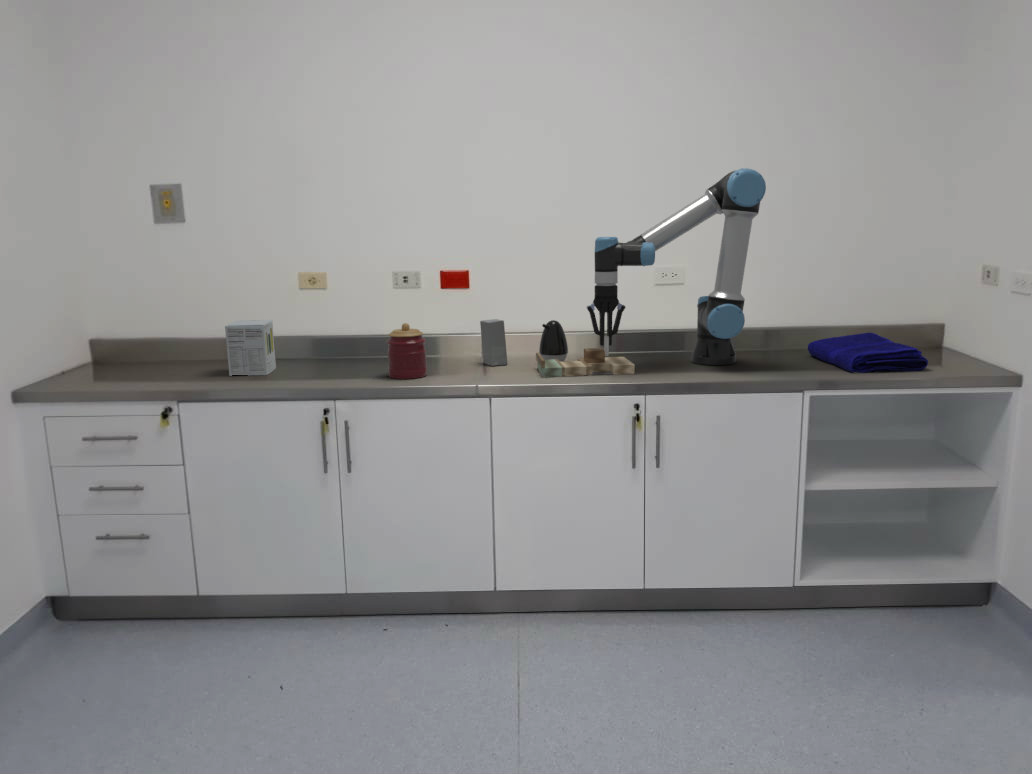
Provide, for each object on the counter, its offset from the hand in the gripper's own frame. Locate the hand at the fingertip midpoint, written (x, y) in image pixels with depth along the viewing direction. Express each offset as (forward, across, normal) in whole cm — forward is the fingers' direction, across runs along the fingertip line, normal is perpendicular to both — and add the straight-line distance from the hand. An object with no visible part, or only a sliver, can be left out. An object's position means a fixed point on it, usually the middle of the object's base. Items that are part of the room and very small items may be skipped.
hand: (605, 355), depth 275 cm
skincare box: (+6, +36, -20) cm, 42 cm away
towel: (+5, -88, +5) cm, 88 cm away
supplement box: (+6, +120, -22) cm, 122 cm away
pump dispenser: (+5, +15, -18) cm, 24 cm away
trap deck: (+5, +7, 0) cm, 9 cm away
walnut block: (+2, +4, -1) cm, 4 cm away
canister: (+6, +66, -4) cm, 66 cm away
